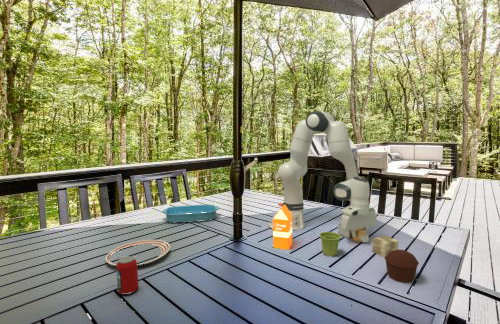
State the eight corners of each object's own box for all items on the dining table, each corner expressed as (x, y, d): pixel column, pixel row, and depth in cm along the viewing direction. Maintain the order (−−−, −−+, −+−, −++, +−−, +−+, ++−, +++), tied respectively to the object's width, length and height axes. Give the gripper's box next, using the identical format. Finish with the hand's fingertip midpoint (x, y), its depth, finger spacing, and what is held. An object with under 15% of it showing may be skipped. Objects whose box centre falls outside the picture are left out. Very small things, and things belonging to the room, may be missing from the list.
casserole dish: (217, 212, 201) (217, 202, 200) (221, 221, 179) (221, 210, 178) (164, 216, 192) (163, 206, 192) (161, 226, 171) (160, 215, 170)
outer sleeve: (348, 239, 144) (349, 228, 144) (338, 234, 151) (338, 224, 151) (359, 237, 147) (359, 226, 146) (348, 232, 154) (349, 222, 154)
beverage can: (122, 286, 103) (120, 255, 102) (141, 285, 104) (139, 254, 102) (115, 297, 96) (112, 263, 95) (135, 295, 97) (133, 262, 96)
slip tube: (362, 244, 137) (362, 232, 137) (336, 232, 155) (337, 221, 154) (369, 242, 139) (369, 231, 138) (343, 231, 156) (343, 220, 156)
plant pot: (340, 250, 131) (341, 232, 130) (340, 259, 122) (340, 240, 121) (320, 248, 134) (320, 230, 133) (318, 256, 125) (318, 237, 124)
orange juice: (273, 248, 135) (272, 207, 133) (277, 241, 144) (277, 203, 142) (288, 250, 133) (288, 209, 131) (292, 243, 141) (292, 204, 139)
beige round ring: (106, 278, 110) (105, 270, 109) (105, 252, 134) (105, 246, 134) (176, 262, 122) (176, 255, 122) (164, 241, 147) (164, 235, 146)
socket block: (384, 257, 123) (385, 243, 122) (372, 251, 129) (372, 238, 129) (398, 254, 126) (398, 240, 125) (385, 248, 132) (385, 235, 132)
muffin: (402, 287, 99) (403, 260, 98) (377, 273, 109) (378, 249, 108) (425, 280, 104) (426, 254, 103) (398, 267, 114) (399, 243, 113)
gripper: (370, 205, 148) (369, 231, 149) (339, 210, 140) (338, 236, 141) (380, 208, 142) (379, 234, 143) (348, 213, 134) (347, 241, 136)
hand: (358, 235), depth 142 cm, fingers closed on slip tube, 4 cm apart
